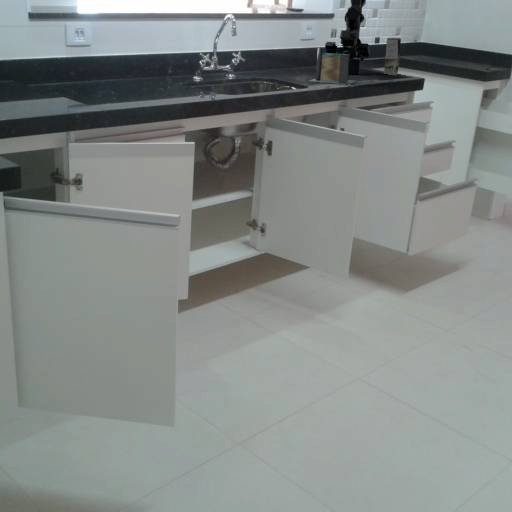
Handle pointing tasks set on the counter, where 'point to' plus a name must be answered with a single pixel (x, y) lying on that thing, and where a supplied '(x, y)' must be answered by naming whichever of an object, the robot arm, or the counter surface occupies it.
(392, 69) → the coffee box
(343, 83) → the gate mat
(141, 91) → the counter surface
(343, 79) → the gate frame
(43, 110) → the counter surface
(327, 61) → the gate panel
